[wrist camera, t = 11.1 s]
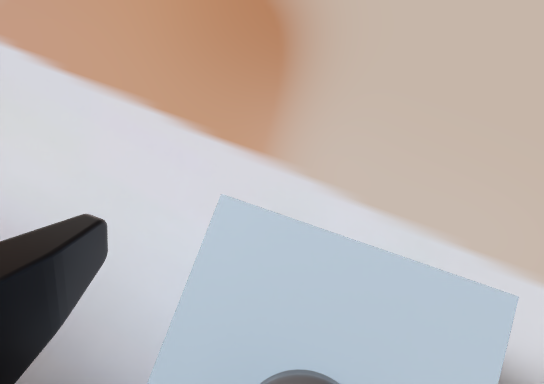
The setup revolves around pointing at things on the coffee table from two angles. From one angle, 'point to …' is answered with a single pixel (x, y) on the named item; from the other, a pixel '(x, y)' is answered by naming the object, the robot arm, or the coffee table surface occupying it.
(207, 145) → the coffee table surface
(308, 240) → the light blue rectangular block
